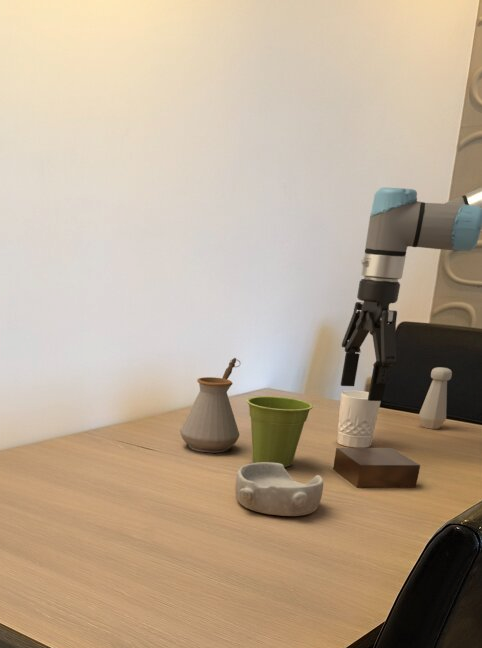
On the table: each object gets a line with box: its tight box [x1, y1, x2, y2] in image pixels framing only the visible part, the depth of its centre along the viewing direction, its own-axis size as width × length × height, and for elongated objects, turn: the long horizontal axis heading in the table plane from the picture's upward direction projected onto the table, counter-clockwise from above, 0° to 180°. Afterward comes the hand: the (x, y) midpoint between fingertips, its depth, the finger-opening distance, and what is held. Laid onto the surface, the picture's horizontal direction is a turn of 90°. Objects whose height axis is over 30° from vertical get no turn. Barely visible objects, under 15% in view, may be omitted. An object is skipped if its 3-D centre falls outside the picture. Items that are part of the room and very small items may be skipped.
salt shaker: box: [418, 366, 453, 430], centre depth 184 cm, size 6×6×13 cm
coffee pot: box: [179, 357, 242, 453], centre depth 161 cm, size 21×12×15 cm, turn 160°
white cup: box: [336, 390, 382, 448], centre depth 167 cm, size 8×8×10 cm
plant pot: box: [246, 395, 314, 469], centre depth 150 cm, size 12×12×11 cm
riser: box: [332, 447, 421, 489], centre depth 147 cm, size 11×11×4 cm
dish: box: [234, 462, 324, 517], centre depth 130 cm, size 14×14×5 cm
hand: (360, 393), depth 165 cm, fingers open, 13 cm apart
